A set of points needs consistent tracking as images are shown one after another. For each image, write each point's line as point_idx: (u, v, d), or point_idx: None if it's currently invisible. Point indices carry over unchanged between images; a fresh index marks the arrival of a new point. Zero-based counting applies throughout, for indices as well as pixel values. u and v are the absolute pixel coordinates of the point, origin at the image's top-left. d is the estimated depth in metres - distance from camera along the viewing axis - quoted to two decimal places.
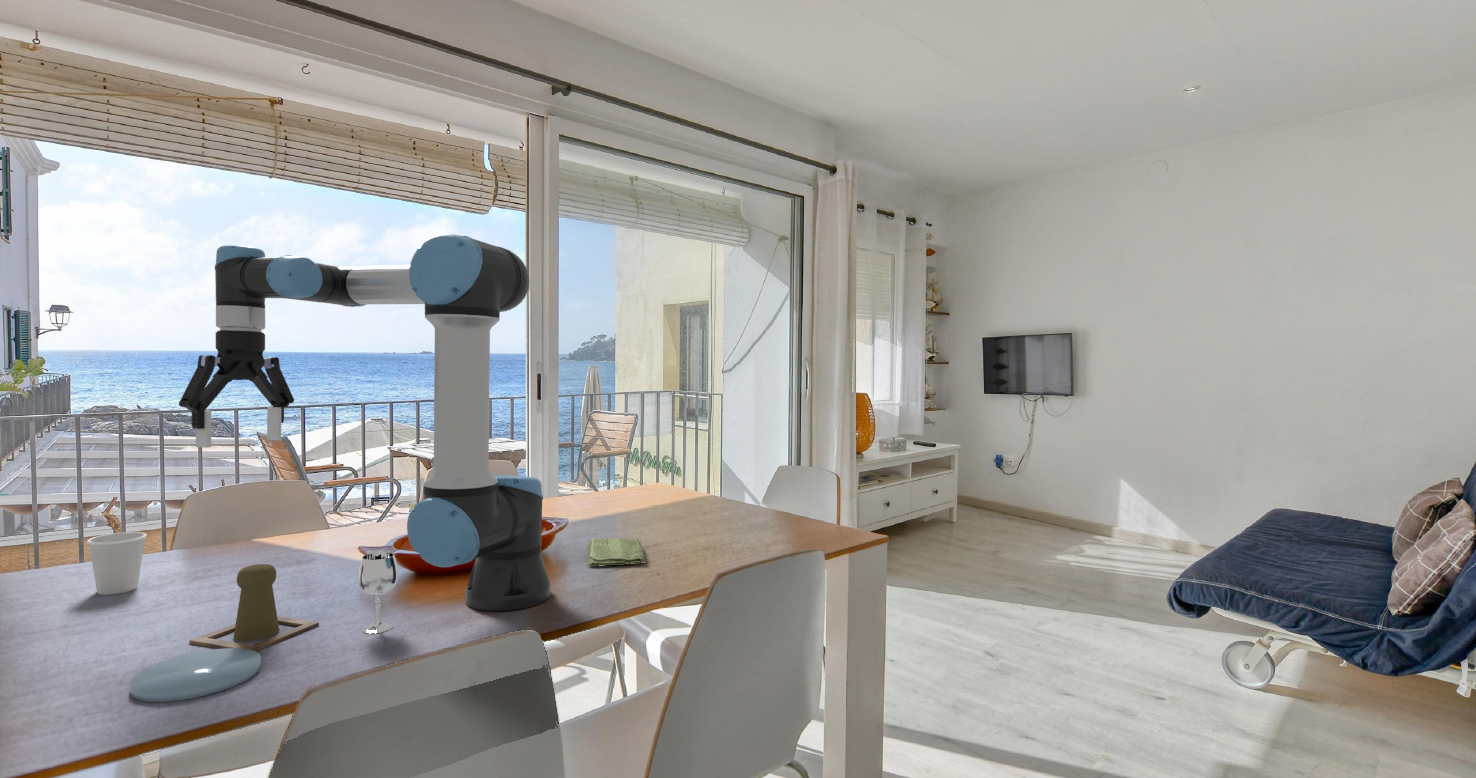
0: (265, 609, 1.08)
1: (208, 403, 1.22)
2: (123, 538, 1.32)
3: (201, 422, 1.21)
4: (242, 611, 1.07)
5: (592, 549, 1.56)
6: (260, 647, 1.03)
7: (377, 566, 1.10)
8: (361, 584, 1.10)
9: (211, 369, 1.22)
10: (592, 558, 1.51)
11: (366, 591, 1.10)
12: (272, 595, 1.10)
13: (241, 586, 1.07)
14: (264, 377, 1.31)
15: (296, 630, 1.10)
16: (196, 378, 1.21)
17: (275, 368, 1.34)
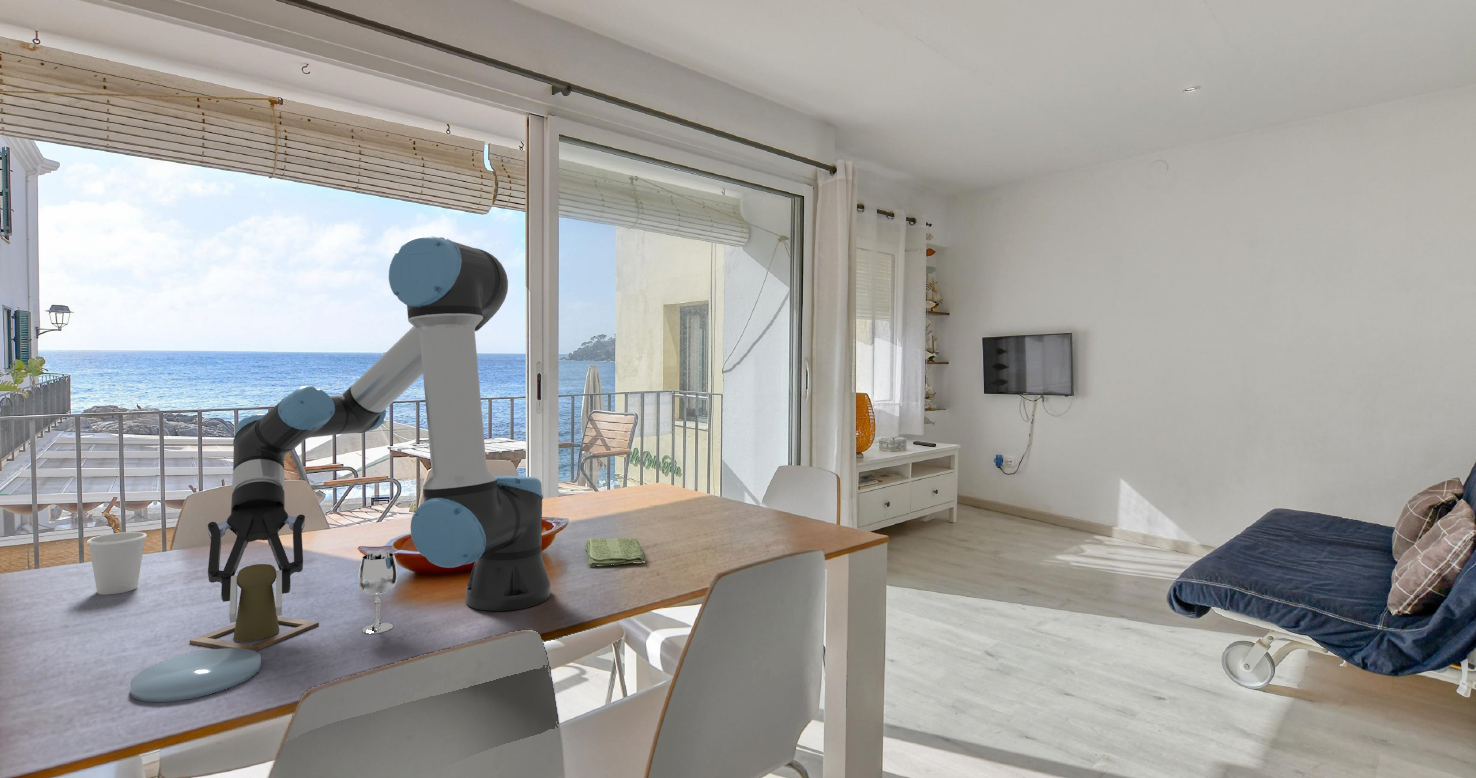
0: (265, 609, 1.08)
1: (231, 567, 1.08)
2: (123, 538, 1.32)
3: (226, 590, 1.06)
4: (242, 611, 1.07)
5: (591, 549, 1.56)
6: (260, 647, 1.03)
7: (377, 566, 1.10)
8: (361, 584, 1.10)
9: (217, 533, 1.11)
10: (592, 558, 1.51)
11: (366, 591, 1.10)
12: (272, 595, 1.10)
13: (241, 586, 1.07)
14: (273, 531, 1.14)
15: (296, 630, 1.10)
16: None
17: (295, 524, 1.17)
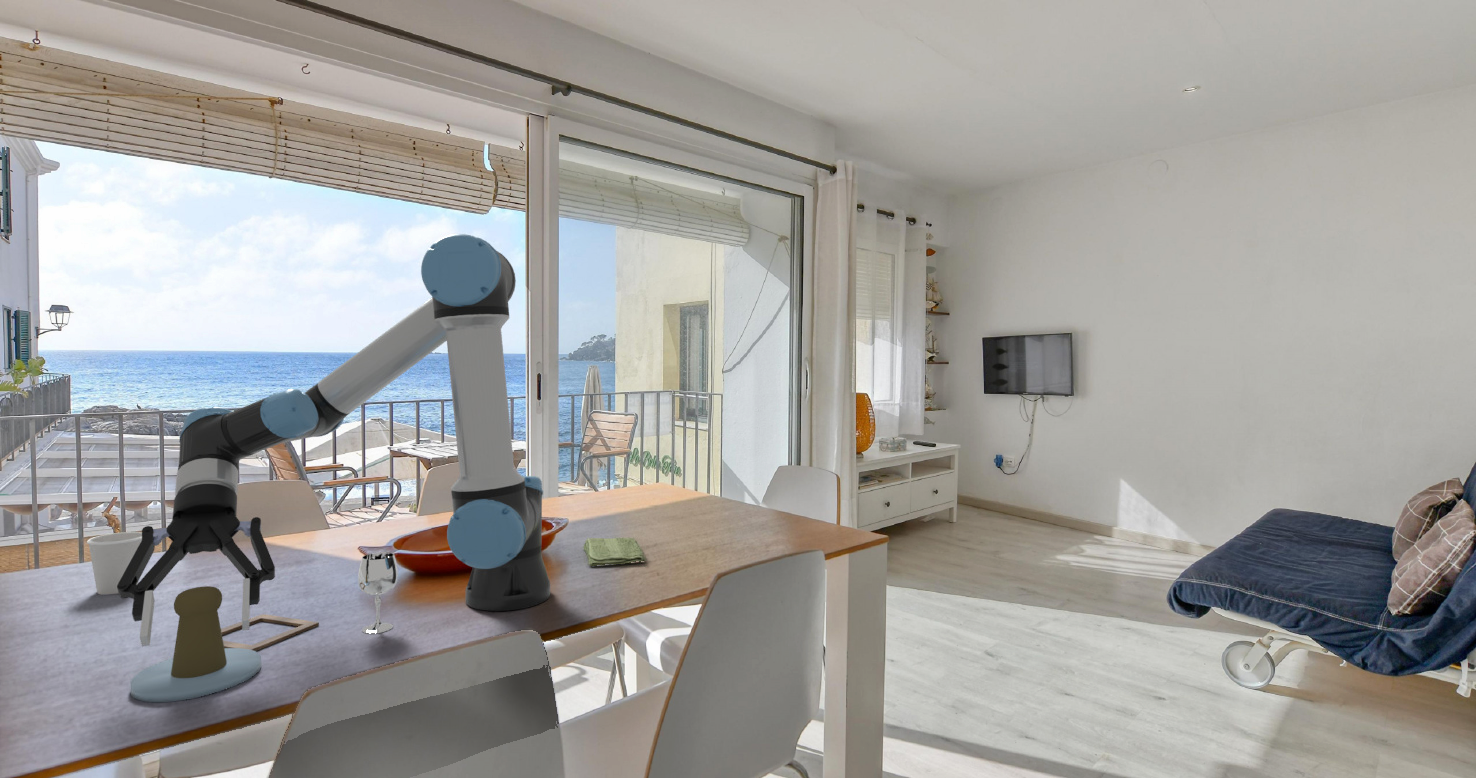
0: (208, 640, 0.93)
1: (148, 581, 0.92)
2: (123, 538, 1.32)
3: (139, 607, 0.90)
4: (181, 643, 0.91)
5: (590, 549, 1.56)
6: (260, 647, 1.03)
7: (377, 566, 1.10)
8: (361, 584, 1.10)
9: (148, 541, 0.95)
10: (592, 558, 1.51)
11: (366, 591, 1.10)
12: (217, 623, 0.94)
13: (179, 614, 0.91)
14: (227, 539, 0.99)
15: (296, 630, 1.10)
16: None
17: (251, 529, 1.02)
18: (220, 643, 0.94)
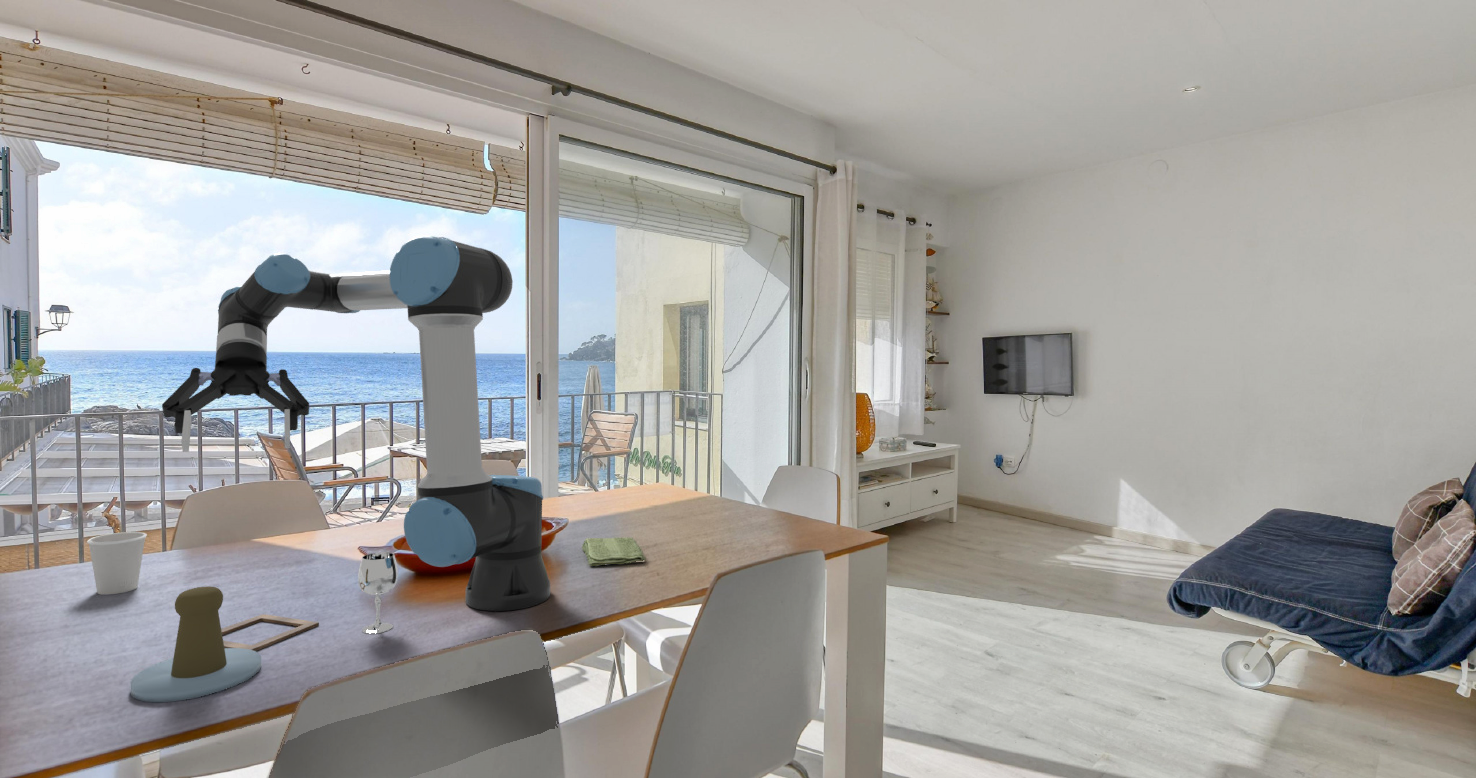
0: (209, 640, 0.93)
1: (188, 404, 1.13)
2: (123, 538, 1.32)
3: (180, 422, 1.11)
4: (181, 642, 0.91)
5: (590, 549, 1.56)
6: (260, 647, 1.03)
7: (377, 566, 1.10)
8: (361, 584, 1.10)
9: (194, 378, 1.16)
10: (592, 558, 1.51)
11: (366, 591, 1.10)
12: (217, 623, 0.94)
13: (180, 613, 0.91)
14: (263, 383, 1.21)
15: (296, 630, 1.10)
16: None
17: (281, 377, 1.24)
18: (220, 643, 0.94)
